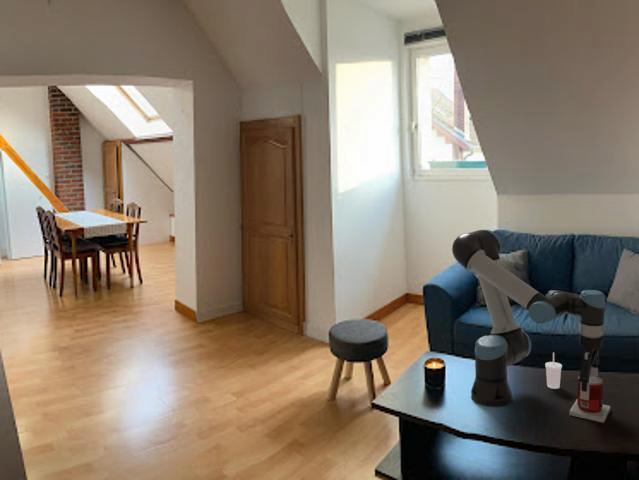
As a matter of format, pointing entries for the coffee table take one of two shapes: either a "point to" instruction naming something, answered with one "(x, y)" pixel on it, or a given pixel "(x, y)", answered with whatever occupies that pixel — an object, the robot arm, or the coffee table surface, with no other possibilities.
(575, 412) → the tray
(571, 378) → the coffee table surface
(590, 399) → the canned food
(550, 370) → the beverage cup
